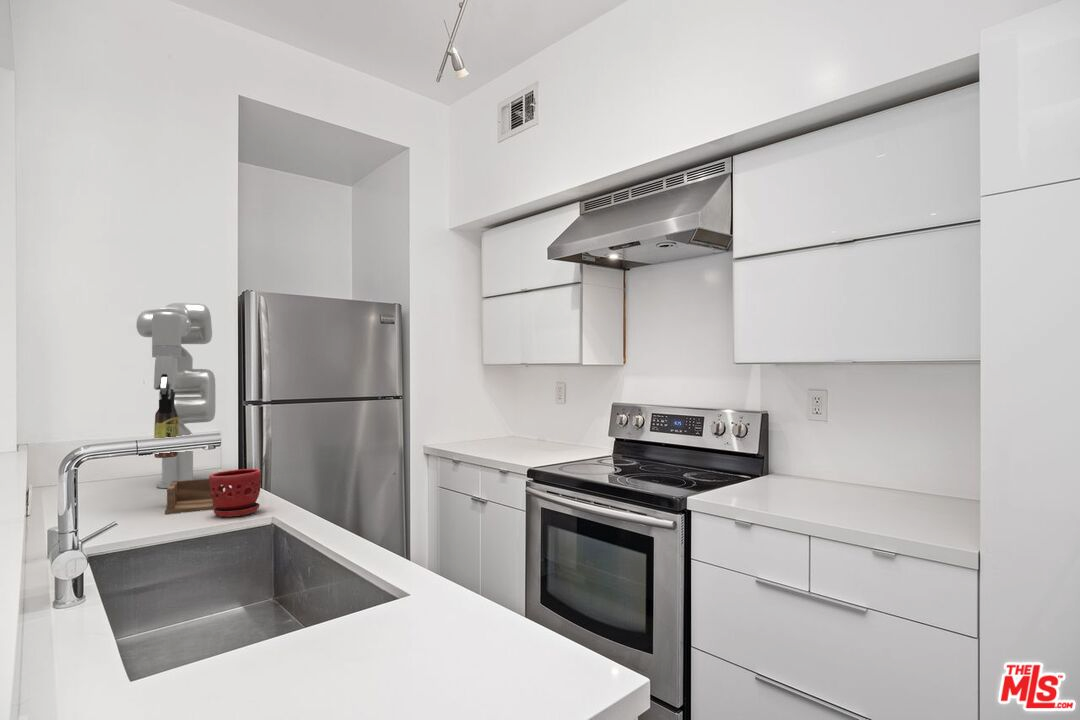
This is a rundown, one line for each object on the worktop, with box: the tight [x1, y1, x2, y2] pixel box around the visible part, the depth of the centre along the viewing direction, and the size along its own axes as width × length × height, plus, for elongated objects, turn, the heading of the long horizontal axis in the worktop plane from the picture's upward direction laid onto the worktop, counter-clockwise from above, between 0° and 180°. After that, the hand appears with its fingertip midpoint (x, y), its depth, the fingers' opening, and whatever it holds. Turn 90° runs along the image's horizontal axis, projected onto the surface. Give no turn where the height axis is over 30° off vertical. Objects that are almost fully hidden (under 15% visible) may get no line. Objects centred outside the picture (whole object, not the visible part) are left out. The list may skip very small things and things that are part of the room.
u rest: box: [164, 478, 217, 515], centre depth 176 cm, size 14×14×7 cm
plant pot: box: [209, 468, 262, 518], centre depth 167 cm, size 13×13×12 cm
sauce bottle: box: [153, 391, 179, 459], centre depth 177 cm, size 7×6×20 cm
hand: (166, 411), depth 177 cm, fingers closed on sauce bottle, 5 cm apart
